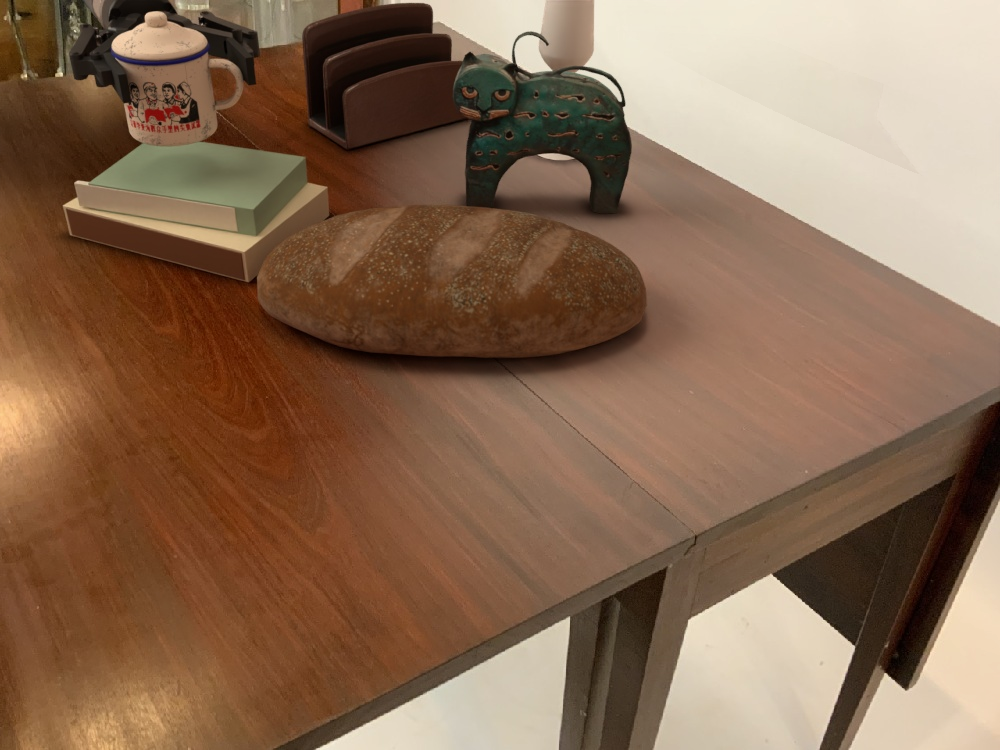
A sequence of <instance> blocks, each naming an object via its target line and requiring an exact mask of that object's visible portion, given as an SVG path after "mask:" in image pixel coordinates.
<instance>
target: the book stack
mask: <svg viewBox="0 0 1000 750" xmlns="http://www.w3.org/2000/svg"><path fill="white" fill-rule="evenodd" d="M306 159H307V158H306V156H300V155H294V154H286V153H280V152H273V151H266V150H259V149H254V148H245V147H240V146H233V145H225V144H220V143H219V144H218V143H212V142H206V141H199V142H196V143H193V144H188V145H182V146H169V147H166V146H153V145H148V144H145V143H141V144H139V146H137V147H135V148H134V149H133V150H132V151H130V152H128V153H127V154H126V155H125V156H123V157H122V158H121V159H119V160H117V162H115V163H113V164H112V165H111V166H109V167H108V168H106V170H103V172H101V173H100V174H98V175H97V176H96V177H95V178H93V179H92V180H91V181H84V180H76V181H75V182H74V189H75V192H76V197H75V198H73V199H71V200H70V201H68V202H66V203H64V204H62V209H63V212H64V216H65V217H64V218H65V220H66V224H67V228H68V229H67V230H68V233H69V236H71V237H75V238H78V239H82V240H87V241H90V242H94V243H98V244H102V245H106V246H109V247H113V248H115V249H121V250H124V251H127V252H132V253H134V254H135V253H136V254H139V255H144V256H146V257H151V258H155V259H159V260H162V261H166V262H170V263H174V264H177V265H181V266H185V267H188V268H191V269H195V270H199V271H203V272H207V273H211V274H215V275H219V276H223V277H226V278H231V279H233V280H237V281H242V282H245V283H250V282H252V281H253V280H254V279H255V278H257V276H258V274H259V271H260V269H261V266H262V264H263V262H264V261H265V259H266V257H267V256H268V255H269V254H270V253H271V252H272V251H273V250H274V248H275V247H276V246H278V245H279V244H280V243H281V242H283V241H284V240H286V239H287V238H289V237H290V236H292V235H293V234H295V233H297V232H299V231H301V230H304V229H306V228H308V227H310V226H312V225H315V224H317V223H319V222H322V221H324V220H327V219H328V218H329V216H330V206H329V205H330V204H329V190H328V188H329V187H328V186H324V185H321V184H316V183H312V182H308V170H307V160H306Z"/></svg>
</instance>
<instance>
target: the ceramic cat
mask: <svg viewBox="0 0 1000 750" xmlns="http://www.w3.org/2000/svg"><path fill="white" fill-rule="evenodd" d="M526 36H534V37H536V38H538V39H539V40H540V39H541V40H542V41H543V42H544V43H546V46H548V45H549V43H548V42H547V40H546V39H545V38H544V36H542V35H541V33H539V32H536V31H532V30H531V31H525V32H522V33H521V34H518V36H516V38H515V39H514V41H513V44H512V49H511V62H510V63H509V62H507V61H506V60H504V59H502V58H501V57H499V56H497V55H493V54H489V53H482V54H477V55H475V54H474V53H473V52H472V51H468V52H467V53H466V54H464V57H463V59H462V61H463V62H462V66H461V67H460V69H459V71H458V73H457V76H456V79H455V82H454V87H453V101H454V104H455V106H456V109H457V111H458V112H459V113H460V114H461V115H462V116H463V117H465V118H467V119H466V120H470V126H469V128H468V129H469V130H468V134H467V140H466V146H465V147H466V148H465V167H464V178H465V206H471V207H486V208H494V206H495V198H496V194H497V190H498V188H499V185H500V182H501V180H502V178H503V177H504V175H505V174H506V173H507V172H508V171H509V170H510V169H511V167H512V166H513V165H514V164H515V163H517V162H518V161H519V160H522V159H523V158H528V157H533V156H538V155H539V154H549V153H554V154H562V155H566V156H570V157H572V158H575V160H576V161H577V162H578V163H580V164H581V165H583V167H585V169H586V171H587V172H588V176H589V180H590V189H589V196H588V197H589V198H588V200H589V205H590V209H591V211H592V212H594V213H597V214H600V215H601V214H616V213H618V210H619V206H620V202H621V197H622V194H623V190H624V187H625V183H626V179H627V177H628V174H629V168H630V160H631V157H632V153H633V152H632V150H633V144H632V136H631V132H630V130H629V127H628V124H627V122H626V119H625V116H626V115H625V112H624V108H625V107H626V105H627V104H626V99H625V94H624V91H623V87H622V86H621V85H620V83H619V82H618V80H617V79H616V78H615V77H614V76H613V75H612V74H611V73H609V72H606V71H604V70H602V69H599V68H596V67H590V66H586V65H584V66H571V67H565V68H561V69H559V70H554V71H552V70H545V71H544V70H543V71H537V72H528V71H526V70H524V69H522V68H520V67H518V64H517V60H516V53H515V49H516V46H517V42H518V41H519V40H520V39H521V38H524V37H526ZM569 70H578V71H585V72H589V73H591V74H597V75H600V76H603V77H605V78H606V79H608V80H609V81H610V82H611V83H612V84H613V85H614V86H615V87H616V88H617V90H618V91H619V94H620V98H621V101H620V100H619V99H618V97H617V96H616V95H615V94H614V93H613V92H612V90H611V89H610V88H609V87H608V86H606V85H605V84H604V83H602V82H601V81H600V80H598V79H596V78H594V77H592V76H589V75H585V74H581V73H577V72H576V73H573V72H565V71H569Z"/></svg>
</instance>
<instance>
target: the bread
mask: <svg viewBox="0 0 1000 750" xmlns="http://www.w3.org/2000/svg"><path fill="white" fill-rule="evenodd" d="M256 284H257V288H256V289H257V290H256V291H257V300H258V302H259V304H260V305H261V307H262V309H263V310H264V311H265V312H266V313H267V314H268V315H269V316H270V317H272V318H273V319H275V320H277V321H278V322H281V323H283V324H285V325H287V326H289V327H291V328H293V329H296V330H299V331H301V332H303V333H306V334H308V335H310V336H312V337H314V338H316V339H319V340H321V341H323V342H326V343H328V344H331V345H334V346H337V347H340V348H344V349H350V350H354V351H359V352H366V353H373V354H374V353H375V354H376V353H377V354H390V355H404V356H405V355H407V356H419V357H470V358H534V357H535V358H536V357H547V356H554V355H560V354H565V353H569V352H573V351H576V350H580V349H584V348H587V347H591V346H594V345H598V344H601V343H604V342H607V341H609V340H612V339H615V338H617V337H619V336H620V335H622V334H624V333H626V332H628V331H629V330H631V329H632V328H634V327H635V326H637V325H638V324H639V323H641V322H642V320H643V316H644V314H645V312H646V309H647V306H648V302H647V301H648V299H647V288H646V285H645V281H644V279H643V275H642V274H641V271H640V269H639V267H638V266H637V265H636V263H635V262H634V261H633V260H632V259H631V258H630V257H629V256H628V255H627V254H626V253H624V252H623V251H622V250H621V249H619V248H618V247H616V246H615V245H613V244H612V243H610V242H608V241H606V240H604V239H603V238H601V237H599V236H596V235H594V234H592V233H590V232H588V231H585V230H581V229H578V228H576V227H573V226H570V225H569V224H566V223H564V222H561V221H558V220H554V219H551V218H548V217H545V216H542V215H541V216H540V215H538V214H534V213H529V212H525V211H519V210H511V209H503V208H502V209H501V208H494V207H493V208H486V207H471V206H466V205H454V204H435V203H433V204H410V205H403V206H382V207H375V208H367V209H360V210H356V211H350V212H346V213H342V214H337V215H334V216H332V217H328V218H326V219H325V220H323V221H322V222H319V223H317V224H315V225H312V226H310V227H308V228H306V229H304V230H301V231H299V232H297V233H295V234H293V235H292V236H290V237H289V238H287V239H286V240H284V241H283V242H281V243H280V244H279V245H278V246H276V247H275V248H274V250H273V251H272V252H271V253H270V254H269V255H268V256H267V257H266V259H265V261H264V262H263V264H262V266H261V269H260V271H259V274H258V275H257V276H256Z"/></svg>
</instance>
